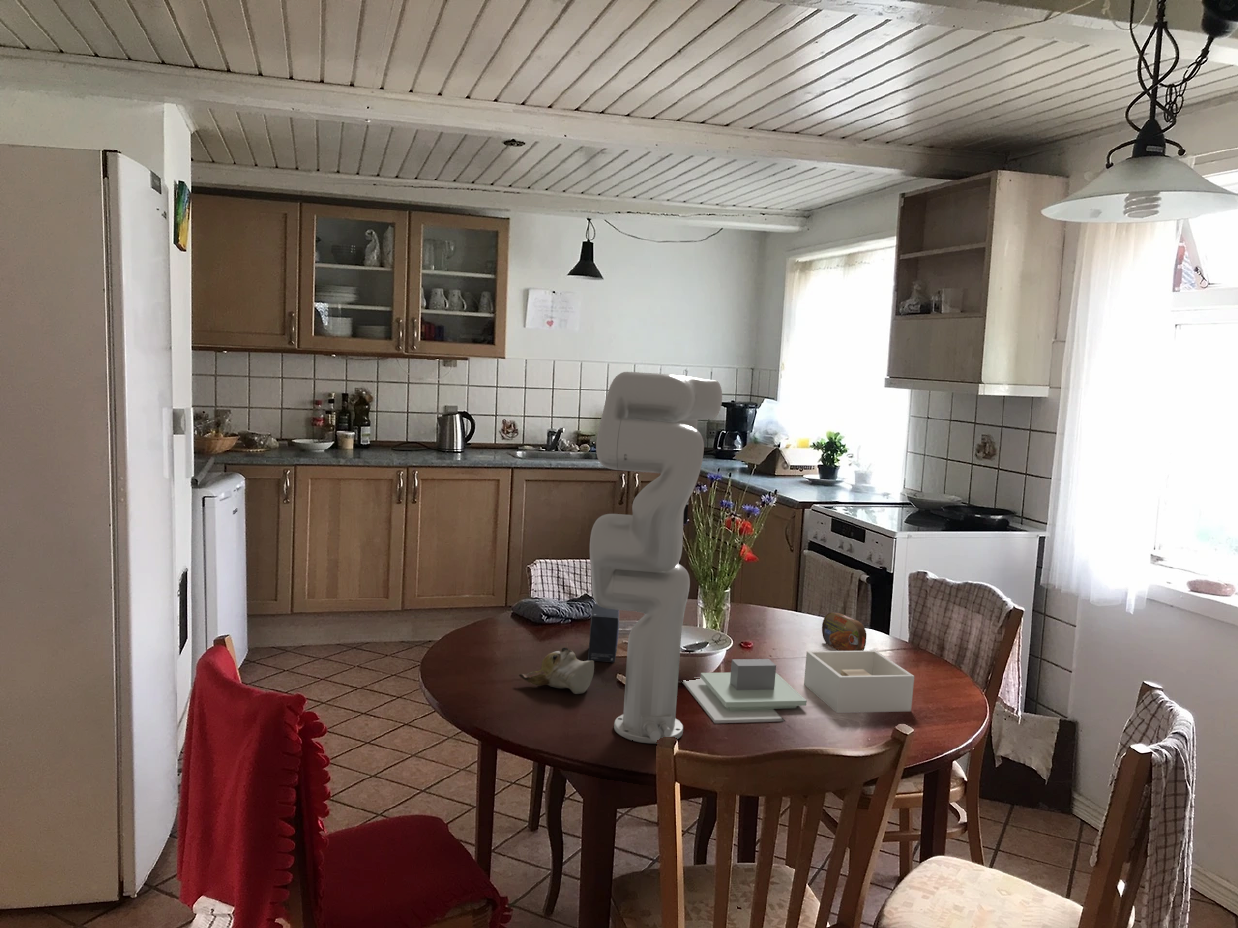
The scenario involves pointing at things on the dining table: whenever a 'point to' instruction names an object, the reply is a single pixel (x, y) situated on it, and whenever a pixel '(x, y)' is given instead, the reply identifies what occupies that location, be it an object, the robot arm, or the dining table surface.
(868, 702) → the storage box
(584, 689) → the ceramic sculpture
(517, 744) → the dining table surface
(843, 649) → the tin
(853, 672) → the ash block
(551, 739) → the dining table surface
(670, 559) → the robot arm
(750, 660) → the lid
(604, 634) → the small box
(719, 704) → the mat
